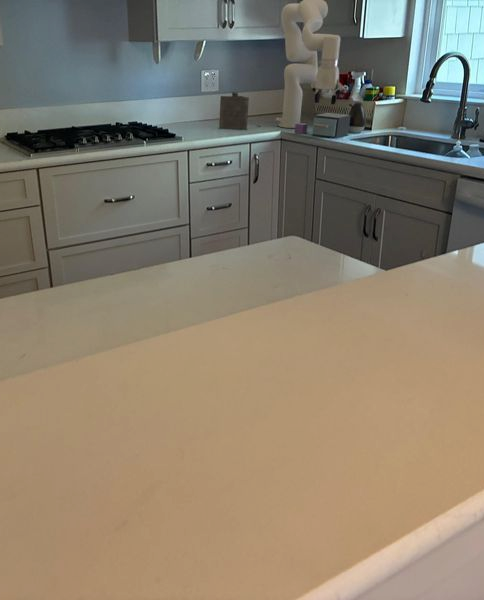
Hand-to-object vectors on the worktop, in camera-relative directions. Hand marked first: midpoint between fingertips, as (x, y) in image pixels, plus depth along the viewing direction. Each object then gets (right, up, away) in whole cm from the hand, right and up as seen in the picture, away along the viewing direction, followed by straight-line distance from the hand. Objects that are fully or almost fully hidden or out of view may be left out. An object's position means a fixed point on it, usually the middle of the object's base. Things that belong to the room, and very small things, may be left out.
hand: (325, 103), depth 291 cm
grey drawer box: (+6, -11, +14) cm, 19 cm away
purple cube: (-8, -9, +18) cm, 22 cm away
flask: (-42, -5, +25) cm, 49 cm away
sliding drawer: (+3, -12, +11) cm, 16 cm away
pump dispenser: (+20, -7, +25) cm, 33 cm away
